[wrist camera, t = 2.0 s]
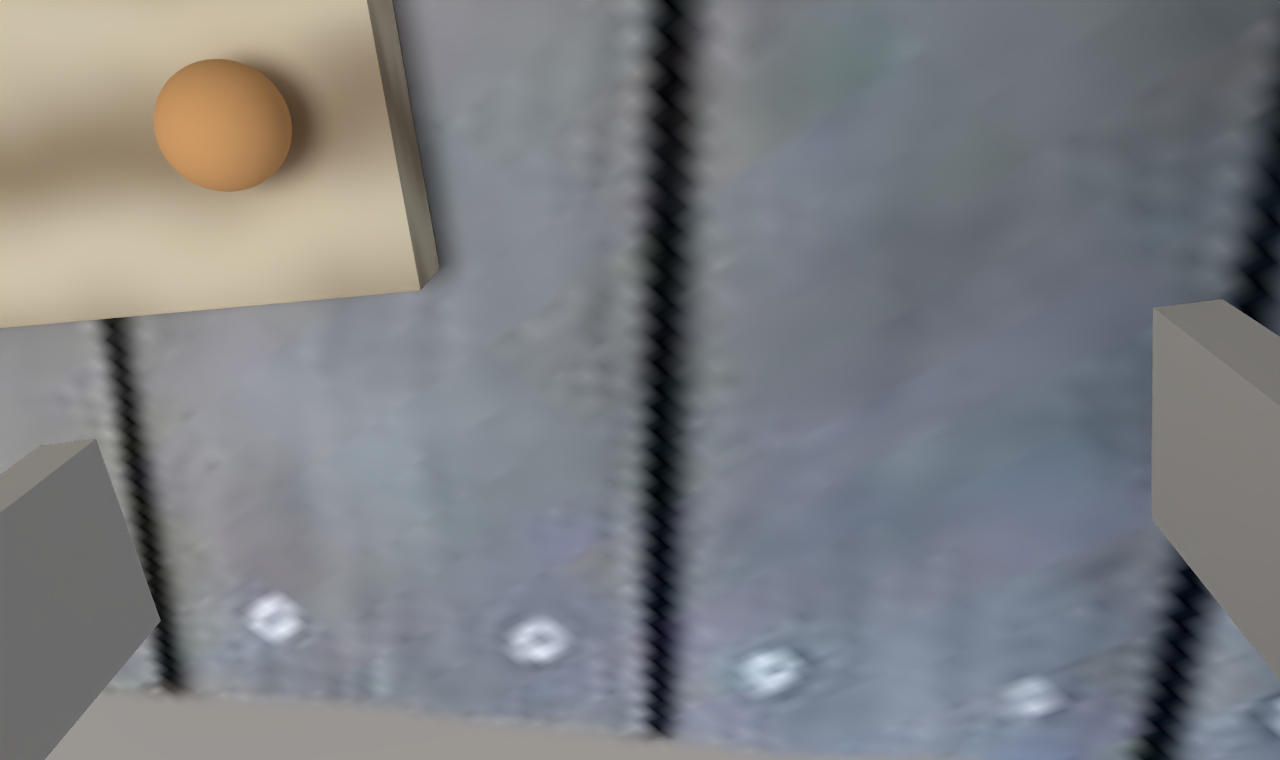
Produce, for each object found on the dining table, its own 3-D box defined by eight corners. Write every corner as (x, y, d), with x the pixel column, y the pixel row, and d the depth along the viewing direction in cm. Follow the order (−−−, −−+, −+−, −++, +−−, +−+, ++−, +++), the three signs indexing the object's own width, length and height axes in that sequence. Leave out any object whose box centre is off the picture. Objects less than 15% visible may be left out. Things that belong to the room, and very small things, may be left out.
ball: (175, 60, 31) (111, 72, 28) (295, 47, 30) (245, 57, 27) (206, 184, 32) (148, 209, 29) (321, 172, 32) (276, 197, 28)
